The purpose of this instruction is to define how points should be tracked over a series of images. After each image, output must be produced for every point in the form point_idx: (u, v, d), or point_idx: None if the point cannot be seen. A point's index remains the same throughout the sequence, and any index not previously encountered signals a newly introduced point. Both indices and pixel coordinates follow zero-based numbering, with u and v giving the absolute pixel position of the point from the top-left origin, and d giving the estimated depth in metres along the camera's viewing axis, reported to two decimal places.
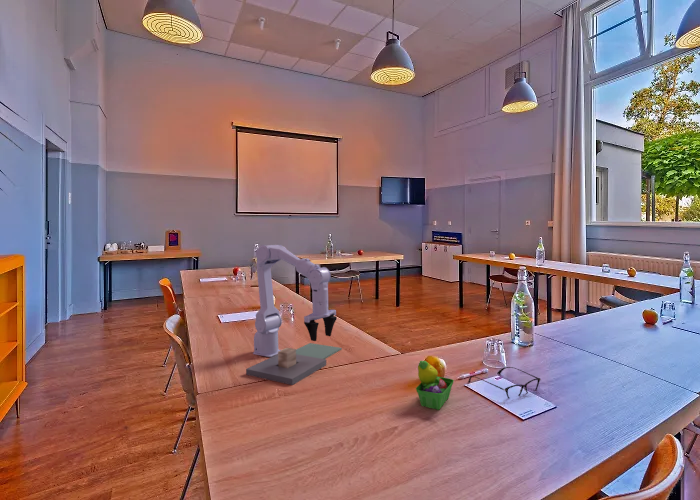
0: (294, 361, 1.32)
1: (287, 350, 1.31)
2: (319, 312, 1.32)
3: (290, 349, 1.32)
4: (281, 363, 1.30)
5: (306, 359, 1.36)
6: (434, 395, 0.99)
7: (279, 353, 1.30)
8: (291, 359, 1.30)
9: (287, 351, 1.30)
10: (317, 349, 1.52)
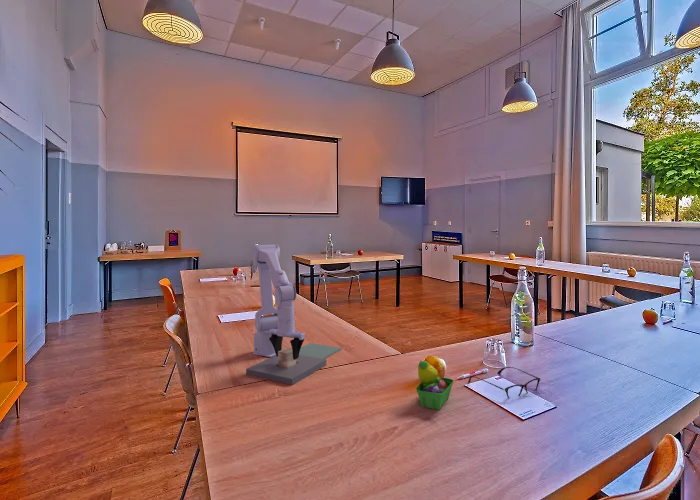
0: (294, 361, 1.32)
1: (287, 350, 1.31)
2: (278, 329, 1.31)
3: (290, 349, 1.32)
4: (281, 363, 1.30)
5: (306, 359, 1.36)
6: (434, 395, 0.99)
7: (279, 353, 1.30)
8: (291, 360, 1.30)
9: (287, 351, 1.30)
10: (317, 349, 1.52)
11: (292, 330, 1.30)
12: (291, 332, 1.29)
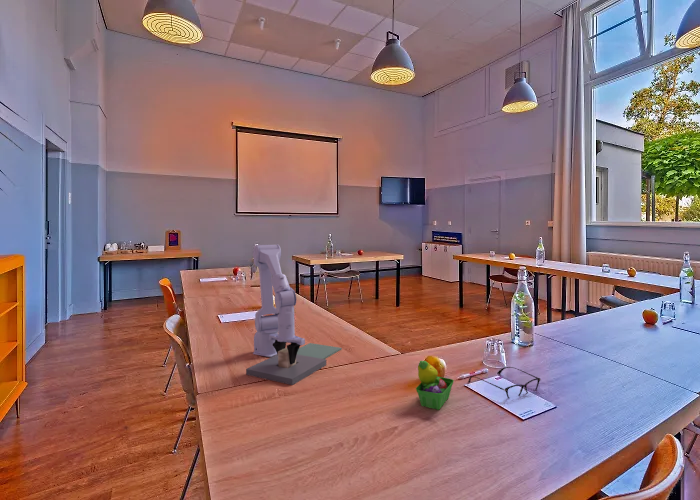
0: None
1: (287, 350, 1.31)
2: (278, 335, 1.31)
3: None
4: (281, 362, 1.30)
5: (306, 359, 1.36)
6: (434, 395, 0.99)
7: (279, 353, 1.30)
8: None
9: (287, 351, 1.30)
10: (317, 349, 1.52)
11: (292, 335, 1.30)
12: (291, 337, 1.29)
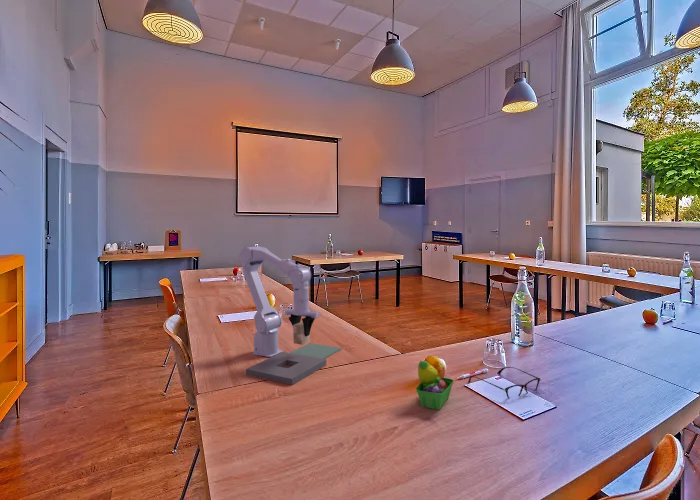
0: None
1: (301, 324, 1.40)
2: (293, 309, 1.40)
3: None
4: (296, 335, 1.39)
5: (306, 359, 1.36)
6: (434, 395, 0.99)
7: (294, 326, 1.39)
8: None
9: (302, 324, 1.39)
10: (317, 349, 1.52)
11: (307, 310, 1.39)
12: (306, 311, 1.39)
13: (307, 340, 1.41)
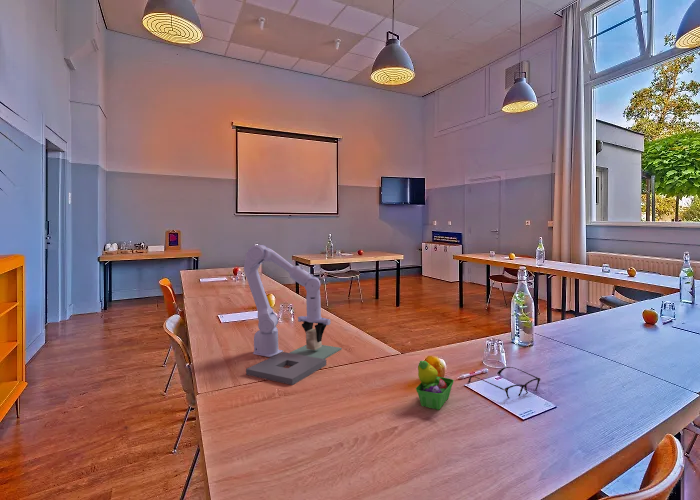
0: None
1: (313, 330, 1.49)
2: (306, 316, 1.49)
3: None
4: (308, 341, 1.48)
5: (306, 359, 1.36)
6: (434, 395, 0.99)
7: (307, 333, 1.48)
8: None
9: (314, 331, 1.48)
10: (317, 349, 1.52)
11: (319, 317, 1.48)
12: (318, 318, 1.48)
13: (319, 346, 1.49)
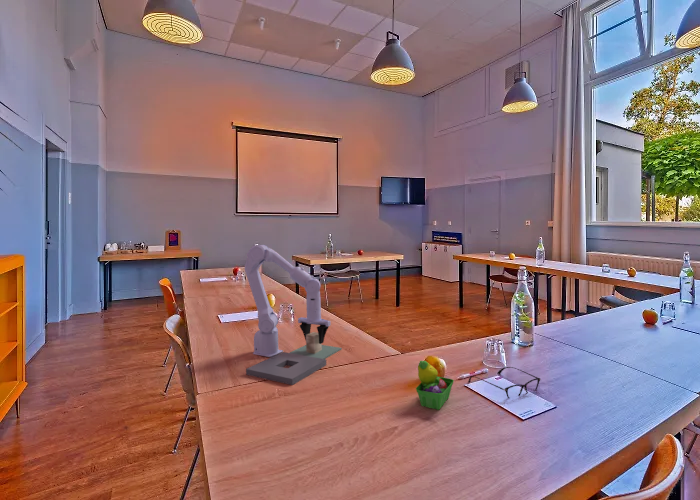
0: None
1: (313, 334, 1.49)
2: (306, 318, 1.49)
3: (316, 333, 1.50)
4: (308, 345, 1.48)
5: (306, 359, 1.36)
6: (434, 395, 0.99)
7: (307, 336, 1.48)
8: (317, 342, 1.48)
9: (314, 334, 1.48)
10: None
11: (319, 318, 1.48)
12: (318, 320, 1.48)
13: (319, 349, 1.49)
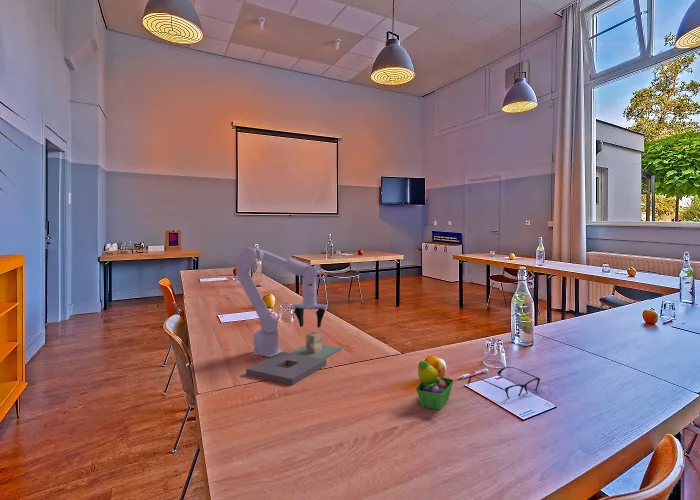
0: (320, 343, 1.50)
1: (313, 334, 1.49)
2: (303, 303, 1.53)
3: (316, 333, 1.50)
4: (308, 345, 1.48)
5: (306, 359, 1.36)
6: (434, 395, 0.99)
7: (307, 336, 1.48)
8: (317, 342, 1.48)
9: (314, 334, 1.48)
10: None
11: (316, 303, 1.53)
12: (315, 304, 1.52)
13: (319, 349, 1.49)
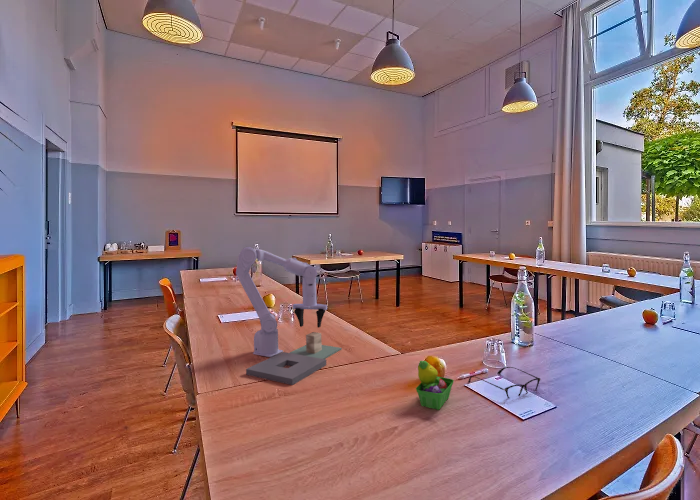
0: (320, 343, 1.50)
1: (313, 334, 1.49)
2: (303, 303, 1.53)
3: (316, 333, 1.50)
4: (308, 345, 1.48)
5: (306, 359, 1.36)
6: (434, 395, 0.99)
7: (307, 336, 1.48)
8: (317, 342, 1.48)
9: (314, 334, 1.48)
10: None
11: (316, 303, 1.53)
12: (315, 304, 1.52)
13: (319, 349, 1.49)
